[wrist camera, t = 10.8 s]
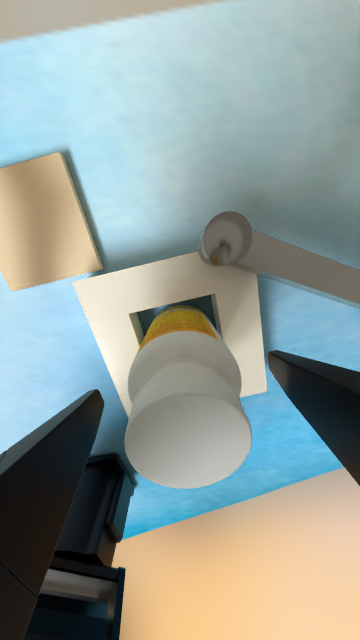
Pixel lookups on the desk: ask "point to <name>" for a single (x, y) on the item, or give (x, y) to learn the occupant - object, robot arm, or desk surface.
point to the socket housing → (166, 288)
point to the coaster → (43, 225)
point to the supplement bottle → (185, 403)
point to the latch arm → (276, 260)
